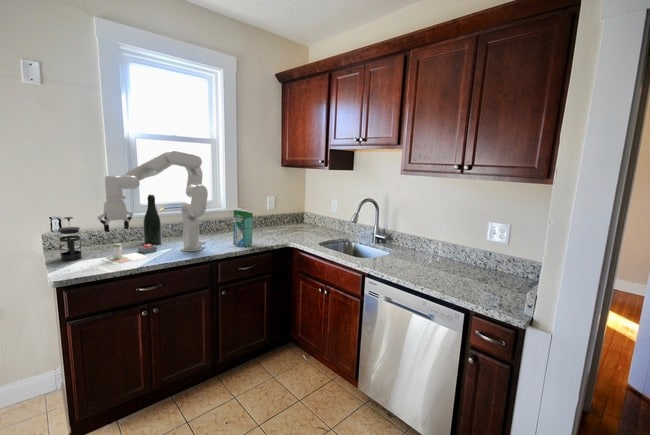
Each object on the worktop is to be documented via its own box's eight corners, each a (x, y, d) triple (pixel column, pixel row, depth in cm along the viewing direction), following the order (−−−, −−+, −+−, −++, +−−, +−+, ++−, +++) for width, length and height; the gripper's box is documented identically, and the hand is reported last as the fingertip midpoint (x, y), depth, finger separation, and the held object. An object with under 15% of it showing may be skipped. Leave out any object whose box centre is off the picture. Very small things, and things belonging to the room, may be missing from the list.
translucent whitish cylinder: (120, 256, 177) (119, 242, 176) (123, 258, 175) (123, 244, 174) (111, 258, 174) (111, 244, 172) (115, 259, 172) (114, 245, 170)
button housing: (150, 250, 196) (150, 244, 195) (156, 252, 192) (156, 246, 192) (138, 253, 190) (138, 246, 189) (145, 255, 186) (144, 248, 186)
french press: (59, 257, 174) (56, 216, 170) (80, 255, 180) (77, 215, 177) (61, 263, 166) (58, 219, 162) (84, 260, 172) (81, 218, 169)
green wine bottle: (161, 244, 211) (160, 195, 206) (143, 246, 206) (141, 195, 201) (161, 241, 220) (159, 193, 215) (143, 242, 215) (142, 193, 210)
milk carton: (252, 245, 222) (252, 209, 219) (243, 247, 214) (244, 211, 210) (241, 243, 226) (242, 208, 222) (233, 245, 218) (233, 209, 214)
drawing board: (136, 253, 189) (136, 251, 188) (151, 258, 180) (151, 256, 180) (98, 261, 172) (98, 259, 172) (113, 267, 163) (113, 265, 163)
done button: (149, 248, 194) (148, 243, 193) (152, 249, 192) (152, 244, 191) (142, 249, 190) (142, 244, 190) (146, 250, 188) (146, 246, 188)
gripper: (128, 197, 179) (130, 227, 181) (92, 199, 164) (95, 231, 167) (135, 198, 175) (137, 228, 178) (99, 201, 160) (102, 234, 163)
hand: (117, 230), depth 172 cm, fingers open, 9 cm apart
